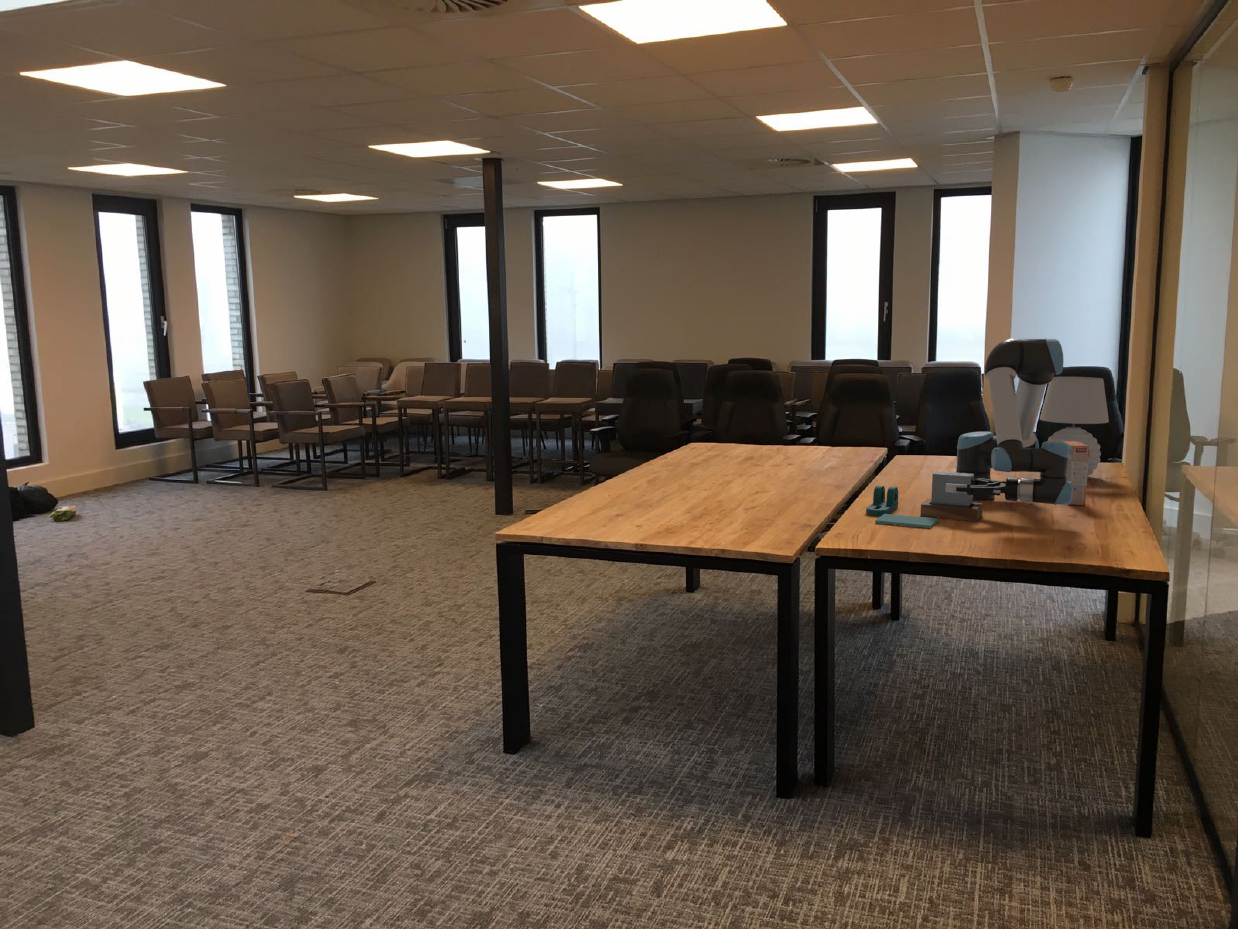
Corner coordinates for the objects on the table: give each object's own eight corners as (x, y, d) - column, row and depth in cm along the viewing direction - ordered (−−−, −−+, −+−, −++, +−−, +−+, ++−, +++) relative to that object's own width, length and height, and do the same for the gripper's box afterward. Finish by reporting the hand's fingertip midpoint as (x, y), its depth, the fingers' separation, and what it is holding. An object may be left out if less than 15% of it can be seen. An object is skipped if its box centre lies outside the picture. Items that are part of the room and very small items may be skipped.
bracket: (878, 506, 344) (878, 484, 343) (897, 508, 340) (898, 485, 339) (863, 515, 328) (864, 492, 327) (884, 517, 325) (884, 494, 324)
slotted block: (927, 510, 336) (928, 498, 335) (982, 515, 327) (982, 503, 327) (920, 516, 326) (920, 504, 325) (976, 521, 317) (977, 509, 317)
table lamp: (1109, 483, 387) (1116, 380, 381) (1039, 480, 395) (1045, 379, 389) (1099, 473, 411) (1106, 376, 405) (1033, 471, 419) (1039, 375, 413)
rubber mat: (884, 516, 325) (884, 513, 325) (937, 521, 317) (938, 518, 317) (875, 523, 315) (875, 520, 315) (930, 528, 307) (930, 525, 307)
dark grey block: (934, 512, 332) (936, 471, 330) (971, 516, 326) (974, 473, 324) (930, 515, 327) (932, 473, 325) (968, 519, 321) (971, 476, 319)
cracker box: (1086, 506, 342) (1090, 445, 339) (1067, 505, 344) (1071, 445, 341) (1076, 498, 356) (1080, 440, 353) (1058, 498, 357) (1062, 440, 354)
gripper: (1013, 507, 305) (942, 502, 315) (1022, 494, 327) (955, 489, 337) (1015, 483, 304) (943, 478, 314) (1024, 472, 326) (956, 467, 336)
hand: (949, 484), depth 325 cm, fingers open, 13 cm apart
